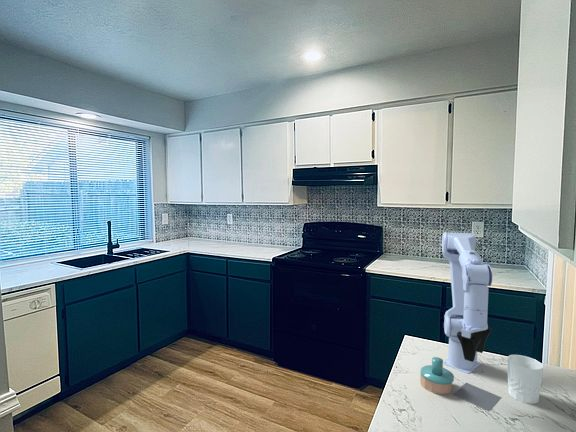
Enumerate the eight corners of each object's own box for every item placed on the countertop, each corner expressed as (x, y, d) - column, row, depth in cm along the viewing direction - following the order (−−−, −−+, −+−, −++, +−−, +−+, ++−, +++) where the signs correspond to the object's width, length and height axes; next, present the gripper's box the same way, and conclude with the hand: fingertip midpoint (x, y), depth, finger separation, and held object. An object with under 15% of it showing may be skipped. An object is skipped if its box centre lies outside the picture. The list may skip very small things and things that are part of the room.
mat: (466, 383, 94) (466, 382, 94) (501, 398, 87) (501, 397, 87) (452, 395, 89) (452, 394, 89) (489, 412, 82) (489, 411, 82)
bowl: (428, 375, 98) (429, 365, 98) (455, 387, 92) (456, 376, 92) (415, 385, 93) (415, 374, 93) (442, 399, 87) (443, 386, 87)
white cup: (548, 408, 84) (550, 371, 83) (514, 404, 85) (515, 367, 85) (531, 390, 91) (533, 356, 91) (500, 387, 93) (502, 353, 92)
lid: (430, 364, 98) (431, 349, 98) (459, 377, 91) (460, 361, 91) (414, 373, 93) (415, 357, 93) (443, 388, 86) (444, 370, 86)
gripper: (468, 299, 97) (467, 343, 98) (450, 309, 87) (448, 359, 88) (495, 304, 92) (493, 351, 93) (479, 316, 82) (477, 369, 83)
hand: (473, 355), depth 90 cm, fingers open, 7 cm apart
